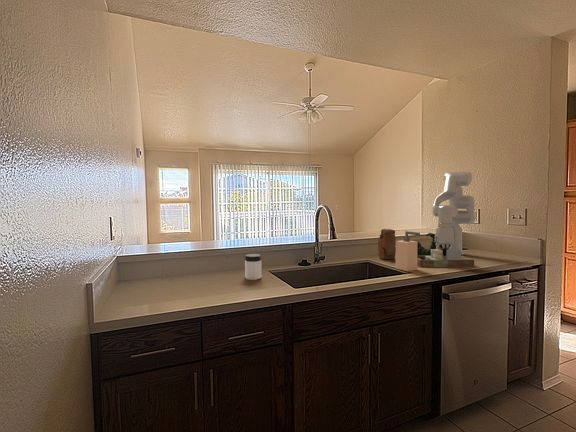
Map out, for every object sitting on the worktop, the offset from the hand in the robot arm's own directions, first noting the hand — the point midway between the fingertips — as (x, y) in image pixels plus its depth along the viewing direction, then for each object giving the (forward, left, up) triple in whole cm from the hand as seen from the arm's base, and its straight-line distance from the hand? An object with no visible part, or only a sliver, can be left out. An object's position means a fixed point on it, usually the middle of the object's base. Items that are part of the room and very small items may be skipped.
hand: (444, 255), depth 199 cm
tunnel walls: (0, +3, -2) cm, 3 cm away
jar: (+31, -115, -6) cm, 119 cm away
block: (-19, -30, -6) cm, 36 cm away
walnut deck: (0, -2, -6) cm, 6 cm away
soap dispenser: (+14, -27, -6) cm, 31 cm away
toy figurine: (-22, -5, -6) cm, 24 cm away
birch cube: (0, -5, -2) cm, 5 cm away
